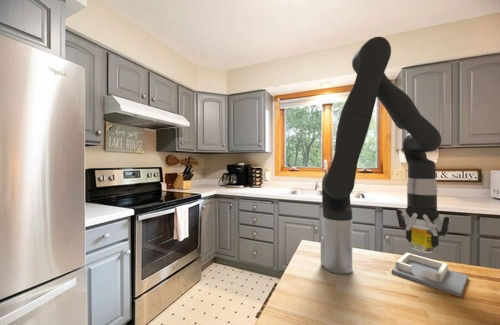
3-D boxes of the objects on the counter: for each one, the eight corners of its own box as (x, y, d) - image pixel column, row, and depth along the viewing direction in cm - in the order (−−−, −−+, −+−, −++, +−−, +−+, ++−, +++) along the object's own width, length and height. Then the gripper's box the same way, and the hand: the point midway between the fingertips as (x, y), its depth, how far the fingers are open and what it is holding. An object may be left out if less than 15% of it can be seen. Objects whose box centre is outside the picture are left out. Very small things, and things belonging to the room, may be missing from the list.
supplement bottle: (429, 255, 66) (429, 222, 66) (408, 249, 70) (408, 218, 70) (436, 251, 69) (435, 219, 69) (415, 245, 73) (415, 215, 73)
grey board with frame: (391, 272, 69) (391, 263, 69) (405, 259, 78) (405, 251, 78) (460, 297, 57) (460, 286, 57) (467, 278, 66) (467, 268, 66)
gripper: (391, 191, 72) (392, 240, 73) (449, 196, 61) (449, 255, 61) (399, 189, 77) (399, 235, 77) (454, 193, 66) (454, 247, 66)
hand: (422, 244), depth 69 cm, fingers closed on supplement bottle, 5 cm apart
